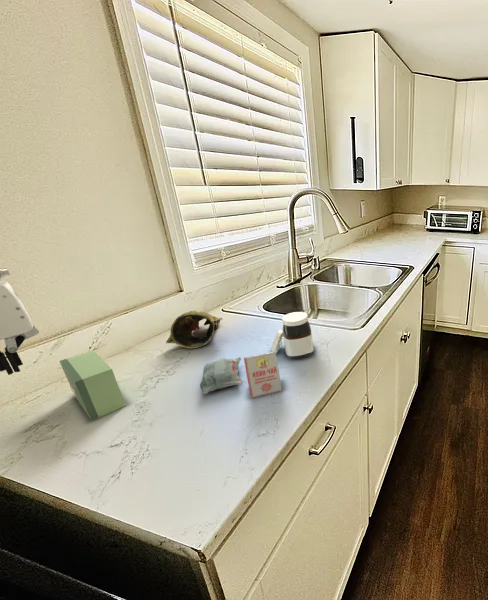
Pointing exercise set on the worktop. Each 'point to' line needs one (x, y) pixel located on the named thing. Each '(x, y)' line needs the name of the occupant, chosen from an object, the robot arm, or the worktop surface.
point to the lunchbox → (93, 384)
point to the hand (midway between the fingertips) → (13, 370)
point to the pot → (192, 329)
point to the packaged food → (220, 375)
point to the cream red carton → (262, 374)
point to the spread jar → (294, 336)
